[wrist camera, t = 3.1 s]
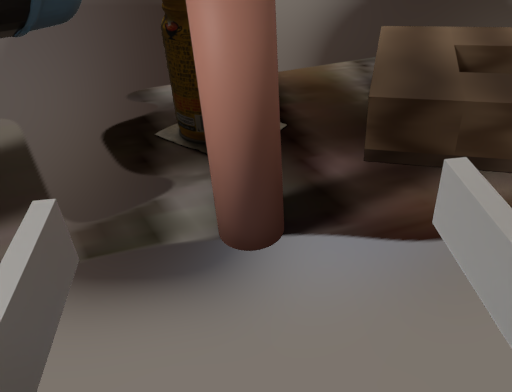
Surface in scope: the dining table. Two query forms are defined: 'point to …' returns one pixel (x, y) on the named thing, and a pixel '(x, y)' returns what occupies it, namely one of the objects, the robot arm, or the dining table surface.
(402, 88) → the socket block
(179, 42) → the condiment
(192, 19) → the peg
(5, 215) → the dining table surface
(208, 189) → the dining table surface
